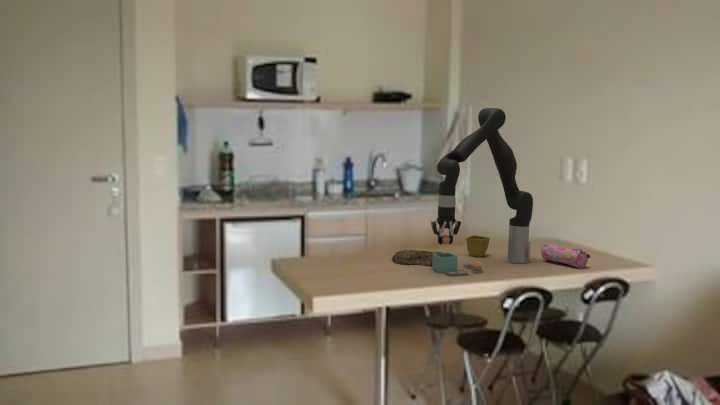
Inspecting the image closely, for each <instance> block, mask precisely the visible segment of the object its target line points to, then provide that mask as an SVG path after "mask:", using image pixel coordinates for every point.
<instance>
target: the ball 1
mask: <svg viewBox="0 0 720 405" xmlns="http://www.w3.org/2000/svg"><path fill="white" fill-rule="evenodd" d="M449 242H450V238H449V235H448V234H444V235H443V234H442V245H449V244H448V243H449Z"/></svg>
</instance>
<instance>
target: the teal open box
mask: <svg viewBox="0 0 720 405" xmlns="http://www.w3.org/2000/svg"><path fill="white" fill-rule="evenodd" d="M431 270H433V271H434V272H437V274H445V272H450V271H458V255H455V254H453V253H451V252H442V253H433V260H432V268H431Z"/></svg>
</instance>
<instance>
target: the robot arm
mask: <svg viewBox="0 0 720 405" xmlns="http://www.w3.org/2000/svg"><path fill="white" fill-rule="evenodd" d="M477 120H478V124H479V128H477V130H475V131H473V132H472V133H470V134H469V135H467V136H465V137H464V138H463V139H462V140H461V141H460V142H459V143H458V144H457V145H456V147H454V148H453V150H451V151H450V152H448V153H447V154H445V155H444V156H442V158H440V159H439V161H438V163H437V165H436V170H437V173H439V175H441V176H445V178H444V180H442V181H441V182H440V183H439V188H438V198H437V199H438V201H437V218H436V220H434V221H433V220H432V221H430V225H431V228H432V231H433V234H434V235H436V236H437V243H438V245H440V246H442V245H443V243H442V236H443V233H444V231H445V229H447V231H448V236H449V238H450V242H449V243H448V244H447V245H453V243H454V236H455V235H457V234H458V232H459V230H460V228H461V225H462V221H460V220H456V205H457V201H456V191H457V189H456V188H457V187H456V186H457V183H458V180H459V176H460V173H461V166H460V163H464V162H466V161H467V160H468V158H469V157H471V155H472V154H473V153H474V152H475V150H477V149H478V148H479V146H481V145H482V144H483V143H484V142H485V141H486V142H487V144H488V146H489V150H490V153H491V154H492V158H493V161H494V164H495V166H496V170H497V173H498V175H499V178H500V181H501V185H502V187H503V191H504V197H505V201H506V204H507V206H508V207H509V208H510V209H511V210H515V216H514V217H511V218H509V223H508V242H507V245H508V246H507V262H508V263H512V264H528V263H530V258H531V256H530V255H531V242H530V223H531V220H532V217H533V209H534V208H533V207H534V198H533V195H532V194H531V192H528V191H523V190H520V189H519V187H518V184H517V180H516V174H517V170H518V163H517V160H516V157H515V153H514V151H513V150H512V149H513V148H512V147H511V146H510V145H509V144H508V143H507V142H506V141H505V139H504V138H503V137H502V134H500V131H499V130H500V129H501V128H502V127H503V126H504V124H505V122H506V113H505V111H504V110H502V109H501V108H496V107H485V108H482V109H480V111H479V112H478V115H477ZM437 226H438V227H437ZM453 226H454V227H453Z"/></svg>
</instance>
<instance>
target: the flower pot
mask: <svg viewBox="0 0 720 405" xmlns="http://www.w3.org/2000/svg"><path fill="white" fill-rule="evenodd" d="M465 240H466V250H467V252H468V254H469V255H470V256H471V257H480V258H482V257H483V256H485V254H486V253H487V251H488V249H489V248H488V247H489V244H490V243H489V242H490V240H491V239H490V236H489V237H488V236H481V235H474V234H473V235H469V236H467V237H466V239H465Z"/></svg>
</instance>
